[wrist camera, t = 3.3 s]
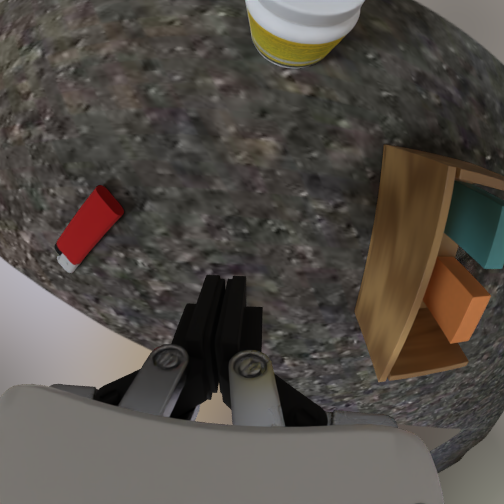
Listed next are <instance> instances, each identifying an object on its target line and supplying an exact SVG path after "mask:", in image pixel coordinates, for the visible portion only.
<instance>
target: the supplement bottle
mask: <svg viewBox="0 0 504 504" xmlns="http://www.w3.org/2000/svg"><path fill="white" fill-rule="evenodd" d="M364 1H365V0H245V2H246V7H247V12H248V18H249V24H250V29H251V36H252V40H253V43H254V45H255V47H256V49H257V50H258V52H259V53H260V54H261V55H262V56H263V57H264V58H265V59H267V60H268V61H270V62H272V63H274V64H276V65H278V66H281V67H286V68H304V67H308V66H311V65H314V64H316V63H318V62H319V61H321V60H322V59H323V58H324V57H325V56H326V55H327V54H328V53H329V52H330V51H331V50H332V49H333V48H334V47H335V46H336V45H337V44H338V43H339V42H340V41H341V40H342V39H343V38H344V37H345V36H346V35H347V34H348V33H349V32H350V31H351V30H352V29H353V27H354V26H355V24H356V23H357V21H358V18H359V15H360V8H361V6H362V4H363V3H364Z"/></svg>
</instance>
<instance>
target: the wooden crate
mask: <svg viewBox="0 0 504 504" xmlns="http://www.w3.org/2000/svg"><path fill="white" fill-rule="evenodd" d="M455 180H456V181H460V182H465V183H469V184H473V183H477V184H481V185H485V186H488V187H492V188H496V189H500V190H503V191H504V176H502V175H499V174H497V173H495V172H492V171H490V170H487V169H485V168H482V167H480V166H477V165H475V164H472V163H469V162H465V161H462V160H458V159H454V158H450V157H446V156H442V155H438V154H433V153H429V152H424V151H419V150H414V149H409V148H404V147H399V146H393V145H387V144H384V150H383V160H382V169H381V178H380V186H379V193H378V200H377V207H376V213H375V219H374V225H373V231H372V236H371V242H370V247H369V252H368V257H367V261H366V266H365V270H364V275H363V279H362V283H361V287H360V291H359V295H358V299H357V303H356V307H355V311H354V312H355V315H356V318H357V320H358V323H359V326H360V328H361V331H362V334H363V337H364V340H365V342H366V345H367V348H368V351H369V354H370V357H371V360H372V363H373V366H374V369H375V372H376V375H377V378H378V381H379V382H383V381H386V379H387V377H388V379H389V381H391V380H398V379H404V378H410V377H416V376H422V375H427V374H432V373H437V372H442V371H446V370H451V369H455V368H459V367H463V366H466V365H467V363H468V362H469V361H468V359H467V358H466V356H465V354H464V353H463V351H462V349H461V348H460V346H459V344H458V343H452V344H450V342H449V341H448V339H447V337H446V336H445V334H444V332H443V331H442V329H441V328H440V326H439V324H438V323H437V321H436V320H435V318H434V317H433V315H432V314H431V312H430V310H429V309H428V307H427V306H426V304H425V303H424V302H423V297H424V294H425V292H426V289H427V286H428V283H429V280H430V277H431V274H432V271H433V268H434V265H435V262H436V258H437V256H440V257H454V258H455V256H456V252H457V249H458V246H459V245H458V244H457V243H455V242H454V241H453V240H452V239H451V238H450V237H448V236H447V235H446V234H445V233H444V229H445V225H446V221H447V217H448V212H449V207H450V203H451V198H452V192H453V187H454V181H455Z"/></svg>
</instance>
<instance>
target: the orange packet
mask: <svg viewBox="0 0 504 504" xmlns="http://www.w3.org/2000/svg"><path fill="white" fill-rule="evenodd" d="M490 297H491V295H490V294H489V293H488V292H487V291H486V290H485V288H484V287H483V286H482V285H481V284H480V283H479V282H478V281H477V280H476V279H475V278H474V277H473V276H472V275H471V274H470V273H469V272H468V271H467V270H466V268H465V267H464V266H463V265H462V264H460V263H459V262H458V261H457V260H456V259H455V258H454V257H440V256H437V258H436V262H435V265H434V268H433V271H432V274H431V277H430V280H429V283H428V286H427V289H426V292H425V294H424V297H423V302H424V303H425V304H426V306H427V307H428V309H429V310H430V312H431V314H432V315H433V317H434V318H435V320H436V321H437V323H438V324H439V326H440V328H441V329H442V331H443V332H444V334H445V336H446V337H447V339H448V341H449V342H450V344H452V343H458V342H463V341H468V340H469V339H470V337H471V335H472V333H473V332H474V330H475V328H476V326H477V324H478V322H479V320H480V318H481V316H482V314H483V312H484V310H485V308H486V306H487V303H488V301H489V299H490Z"/></svg>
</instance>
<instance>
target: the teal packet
mask: <svg viewBox="0 0 504 504" xmlns="http://www.w3.org/2000/svg"><path fill="white" fill-rule="evenodd" d="M444 233H445V234H446V235H447V236H448V237H450V238H451V239H452V240H453V241H454V242H455V243H457V244H458V245H459V246H460V247H461V248H462V249H463V250H465V251H466V252H467V253H468V254H469V255H470V256H471V257H472V258H473V259H474V260H476V261H477V262H478V263H479V264H480V265H481V266H482V267H483V268H484V269H502V267H503V264H504V200H502V199H500V198H498V197H496V196H494V195H492V194H490V193H489V192H487V191H485V190H483V189H481V188H479V187H477V186H475V185H473V184H469V183H465V182H460V181H456V180H455V181H454V187H453V192H452V198H451V203H450V207H449V212H448V217H447V221H446V225H445V229H444Z"/></svg>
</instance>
